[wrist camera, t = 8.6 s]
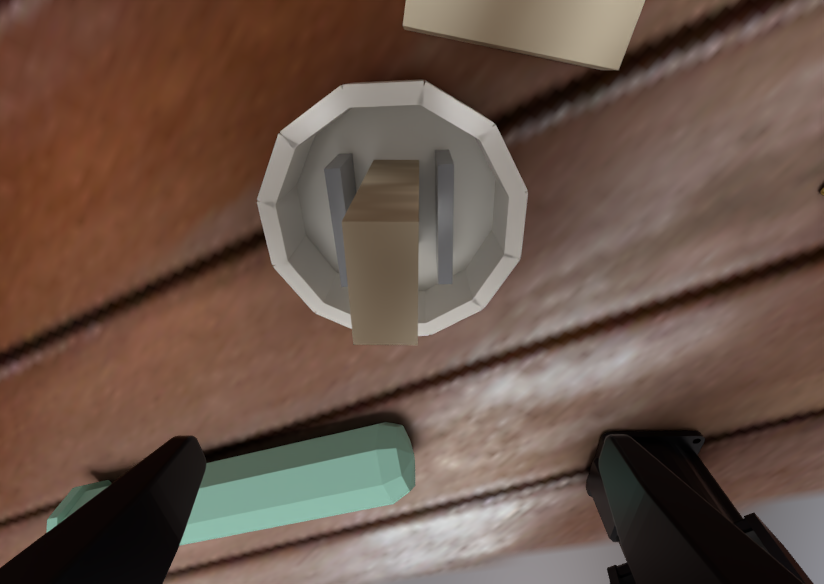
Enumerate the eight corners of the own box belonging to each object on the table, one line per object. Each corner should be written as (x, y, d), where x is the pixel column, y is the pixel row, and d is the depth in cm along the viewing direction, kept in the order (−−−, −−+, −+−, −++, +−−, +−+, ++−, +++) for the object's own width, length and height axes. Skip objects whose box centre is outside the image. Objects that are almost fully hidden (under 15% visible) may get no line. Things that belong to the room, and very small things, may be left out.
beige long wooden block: (419, 159, 17) (418, 222, 10) (418, 244, 19) (417, 345, 12) (373, 159, 17) (341, 221, 10) (377, 244, 19) (353, 344, 12)
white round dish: (518, 74, 16) (541, 75, 13) (499, 296, 21) (512, 333, 18) (264, 86, 16) (229, 89, 13) (308, 300, 21) (290, 338, 18)
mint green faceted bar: (404, 499, 20) (24, 573, 24) (432, 514, 25) (108, 574, 29) (395, 393, 24) (66, 472, 28) (420, 423, 28) (135, 487, 32)
